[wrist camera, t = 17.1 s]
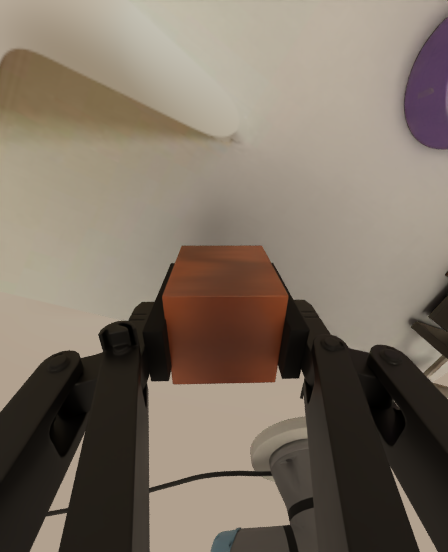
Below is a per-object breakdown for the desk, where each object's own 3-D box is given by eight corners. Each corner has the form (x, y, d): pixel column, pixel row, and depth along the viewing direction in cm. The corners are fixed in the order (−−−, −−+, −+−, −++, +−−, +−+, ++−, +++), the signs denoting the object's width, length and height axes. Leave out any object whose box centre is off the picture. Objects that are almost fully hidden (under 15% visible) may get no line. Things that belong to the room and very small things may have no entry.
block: (186, 312, 17) (172, 384, 11) (181, 245, 14) (161, 296, 9) (256, 311, 17) (275, 382, 12) (261, 245, 15) (288, 295, 9)
